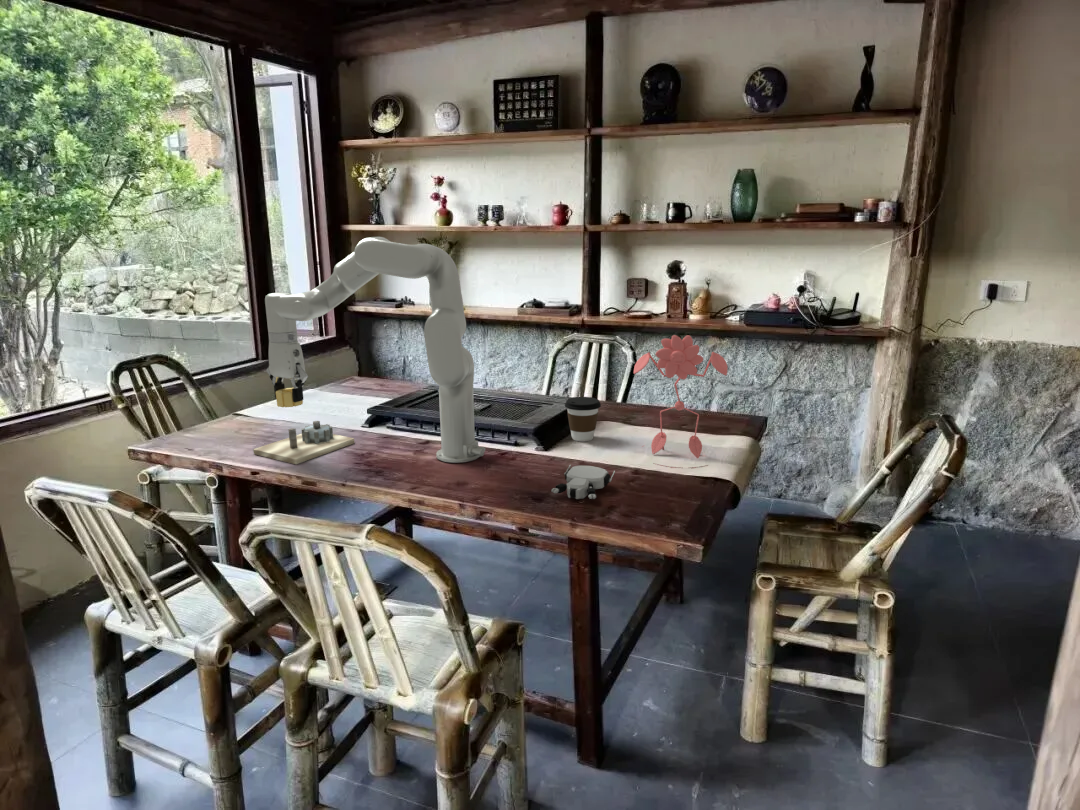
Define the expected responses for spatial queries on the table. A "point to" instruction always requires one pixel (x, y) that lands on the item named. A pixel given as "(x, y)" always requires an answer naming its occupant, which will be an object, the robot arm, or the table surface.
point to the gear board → (305, 444)
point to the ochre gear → (286, 398)
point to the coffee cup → (582, 417)
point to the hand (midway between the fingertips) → (289, 399)
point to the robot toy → (583, 481)
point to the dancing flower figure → (680, 362)
